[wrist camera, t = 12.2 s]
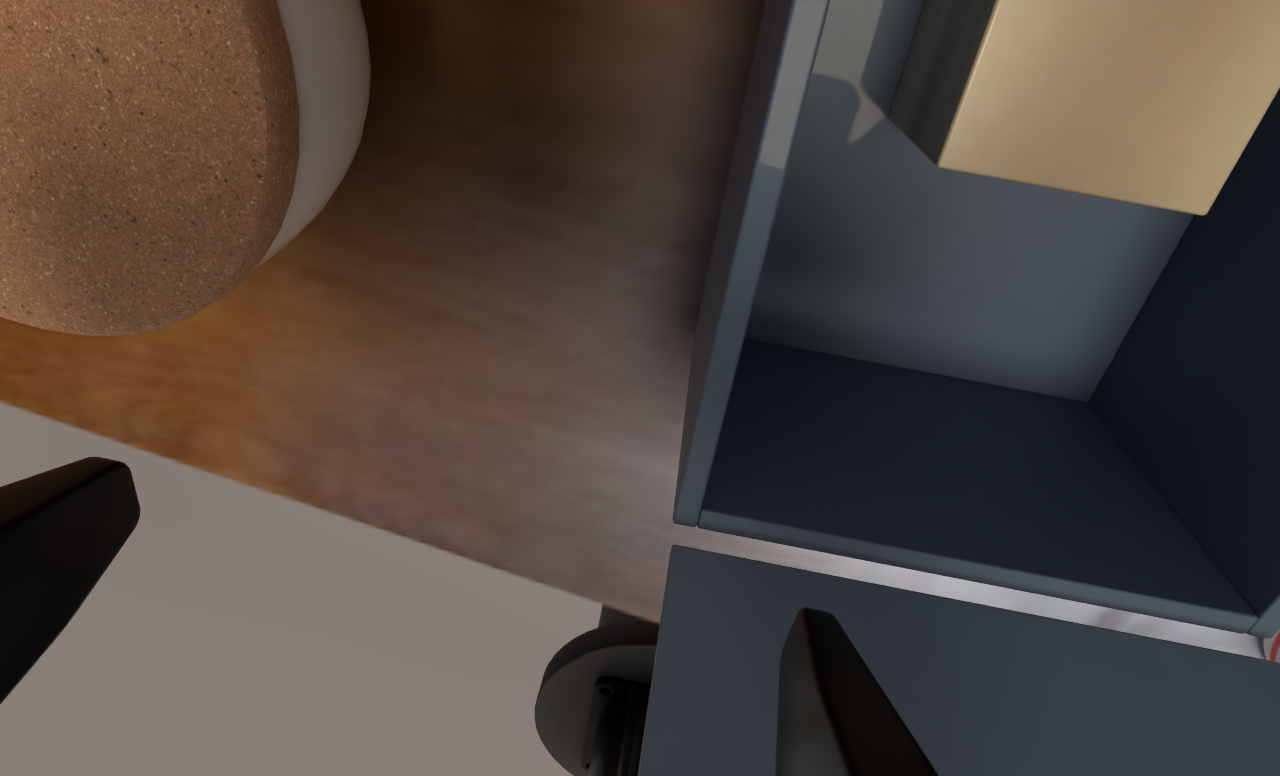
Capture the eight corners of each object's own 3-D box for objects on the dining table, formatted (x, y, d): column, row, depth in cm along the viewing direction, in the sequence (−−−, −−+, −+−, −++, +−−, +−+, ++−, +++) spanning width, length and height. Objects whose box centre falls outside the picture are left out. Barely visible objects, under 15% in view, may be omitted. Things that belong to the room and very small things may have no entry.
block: (1206, -90, 15) (1398, -113, 10) (1091, 155, 17) (1206, 217, 13) (966, -131, 15) (1058, -170, 11) (887, 118, 17) (935, 168, 13)
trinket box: (433, 256, 21) (248, 432, 13) (84, 182, 21) (-308, 313, 13) (444, -198, 16) (137, -368, 8) (-27, -294, 16) (-811, -558, 8)
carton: (1089, 410, 21) (1271, 640, 14) (693, 336, 22) (671, 524, 14) (1391, -116, 15) (2039, -196, 7) (810, -214, 15) (879, -383, 8)
